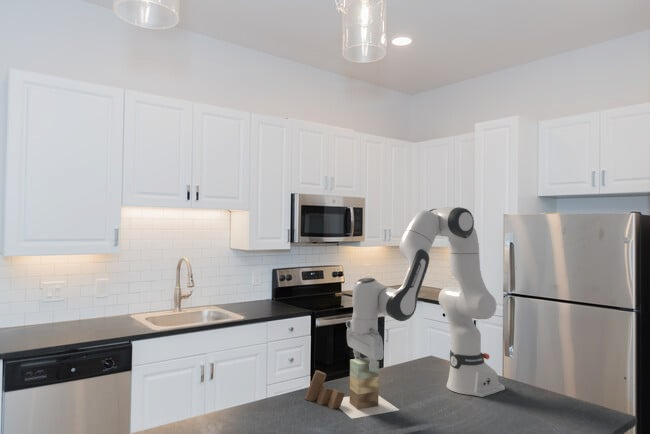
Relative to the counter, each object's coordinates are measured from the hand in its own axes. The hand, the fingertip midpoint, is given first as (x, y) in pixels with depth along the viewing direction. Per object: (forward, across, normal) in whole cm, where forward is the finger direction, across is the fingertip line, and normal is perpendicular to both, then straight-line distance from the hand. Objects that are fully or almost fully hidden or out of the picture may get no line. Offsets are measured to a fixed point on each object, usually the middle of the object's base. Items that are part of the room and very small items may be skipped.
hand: (364, 366), depth 154 cm
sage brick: (+3, 0, 0) cm, 3 cm away
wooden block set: (+15, +10, +12) cm, 21 cm away
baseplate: (+14, 0, 0) cm, 14 cm away
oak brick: (+8, 0, 0) cm, 8 cm away
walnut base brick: (+13, 0, 0) cm, 13 cm away
